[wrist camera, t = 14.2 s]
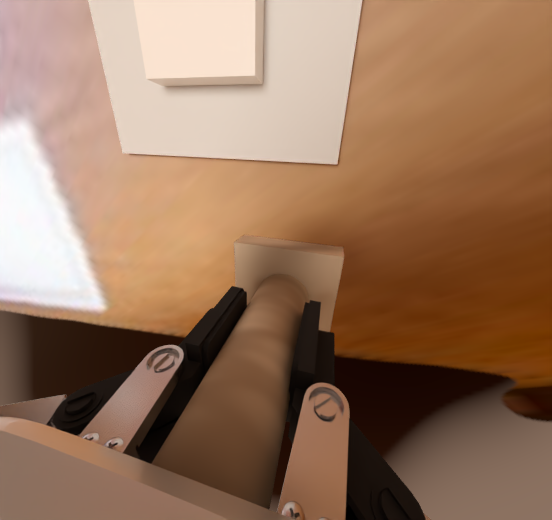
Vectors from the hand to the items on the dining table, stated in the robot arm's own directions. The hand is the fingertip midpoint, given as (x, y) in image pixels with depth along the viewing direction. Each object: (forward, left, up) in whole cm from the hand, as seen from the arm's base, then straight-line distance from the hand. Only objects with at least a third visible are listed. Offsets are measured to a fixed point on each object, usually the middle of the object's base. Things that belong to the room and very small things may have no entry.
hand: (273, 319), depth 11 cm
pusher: (0, 0, -4) cm, 4 cm away
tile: (+5, -17, -13) cm, 22 cm away
